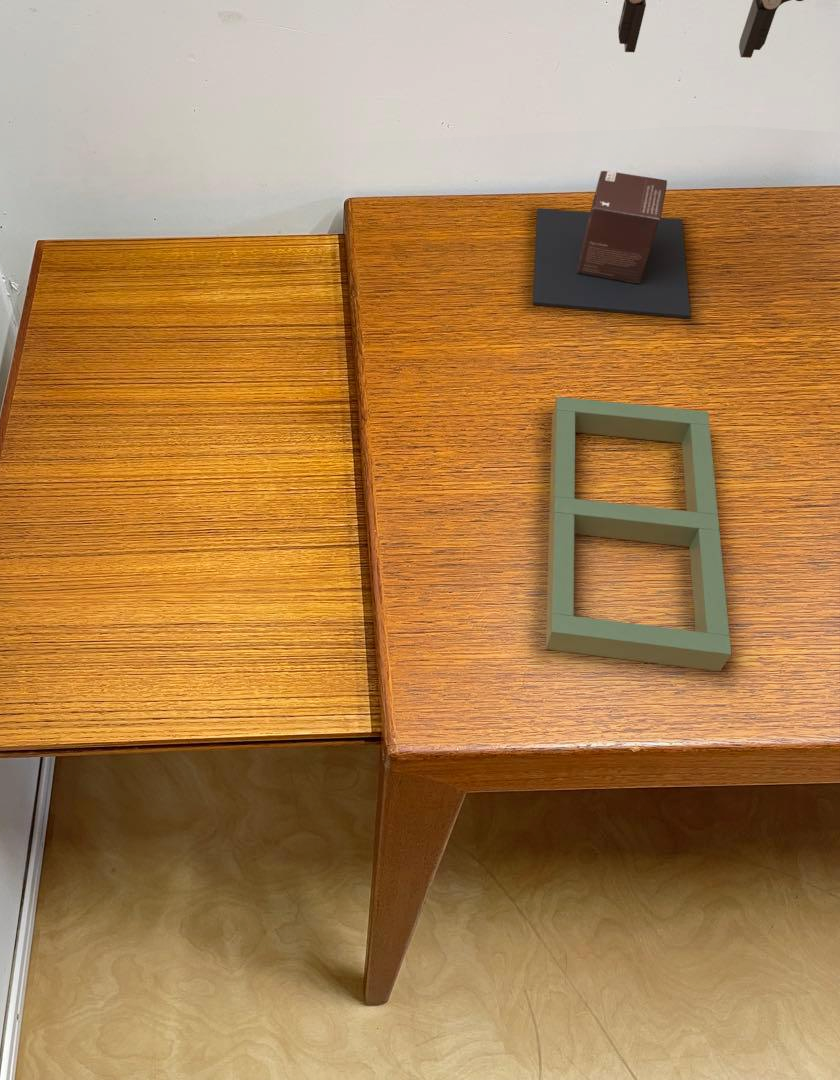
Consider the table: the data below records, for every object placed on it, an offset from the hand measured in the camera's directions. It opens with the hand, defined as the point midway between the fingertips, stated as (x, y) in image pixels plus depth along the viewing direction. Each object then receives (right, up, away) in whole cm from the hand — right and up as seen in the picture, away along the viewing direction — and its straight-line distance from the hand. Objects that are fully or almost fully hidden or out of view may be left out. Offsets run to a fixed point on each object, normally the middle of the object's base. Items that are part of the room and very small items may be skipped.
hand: (686, 49), depth 76 cm
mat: (0, -11, +19) cm, 22 cm away
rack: (-4, -37, 0) cm, 37 cm away
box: (0, -11, +18) cm, 21 cm away
